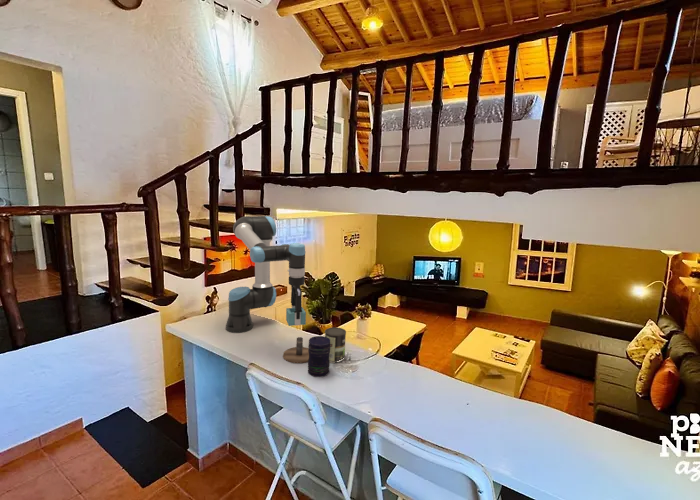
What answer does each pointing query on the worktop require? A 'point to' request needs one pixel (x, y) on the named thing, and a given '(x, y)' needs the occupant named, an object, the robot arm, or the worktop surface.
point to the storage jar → (318, 356)
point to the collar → (291, 316)
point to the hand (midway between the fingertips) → (295, 321)
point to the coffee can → (336, 343)
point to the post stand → (297, 353)
